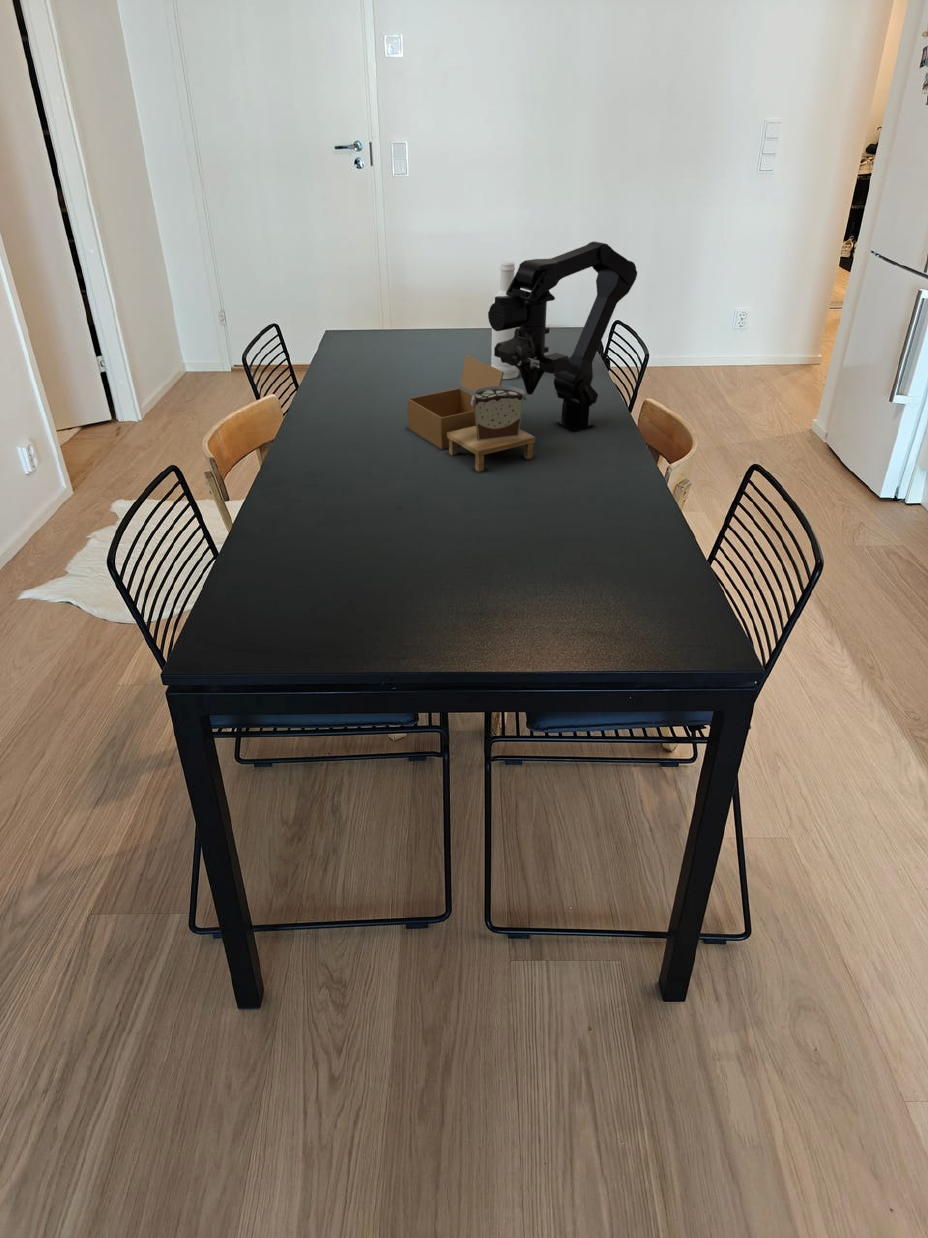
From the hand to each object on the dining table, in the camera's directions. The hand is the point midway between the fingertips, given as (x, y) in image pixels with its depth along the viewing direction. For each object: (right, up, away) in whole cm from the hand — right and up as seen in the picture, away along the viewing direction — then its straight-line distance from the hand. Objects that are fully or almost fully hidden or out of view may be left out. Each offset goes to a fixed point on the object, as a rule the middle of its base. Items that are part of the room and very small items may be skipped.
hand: (529, 393), depth 191 cm
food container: (-8, -10, -5) cm, 14 cm away
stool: (-9, -15, -3) cm, 17 cm away
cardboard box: (-18, -7, +9) cm, 21 cm away
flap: (-11, +5, +7) cm, 14 cm away
